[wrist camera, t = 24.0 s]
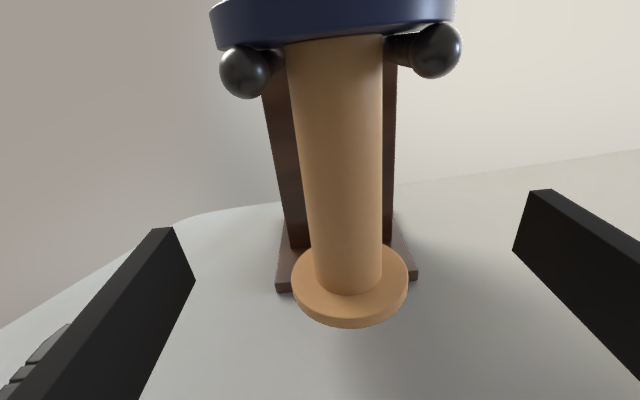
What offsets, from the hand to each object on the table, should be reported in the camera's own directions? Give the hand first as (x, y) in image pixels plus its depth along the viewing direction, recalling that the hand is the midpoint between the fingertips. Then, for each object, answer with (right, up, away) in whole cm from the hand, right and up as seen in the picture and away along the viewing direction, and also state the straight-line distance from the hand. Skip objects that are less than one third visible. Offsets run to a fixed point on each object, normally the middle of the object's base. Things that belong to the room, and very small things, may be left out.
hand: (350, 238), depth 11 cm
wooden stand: (+1, -4, +13) cm, 14 cm away
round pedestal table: (+1, -4, +7) cm, 7 cm away
